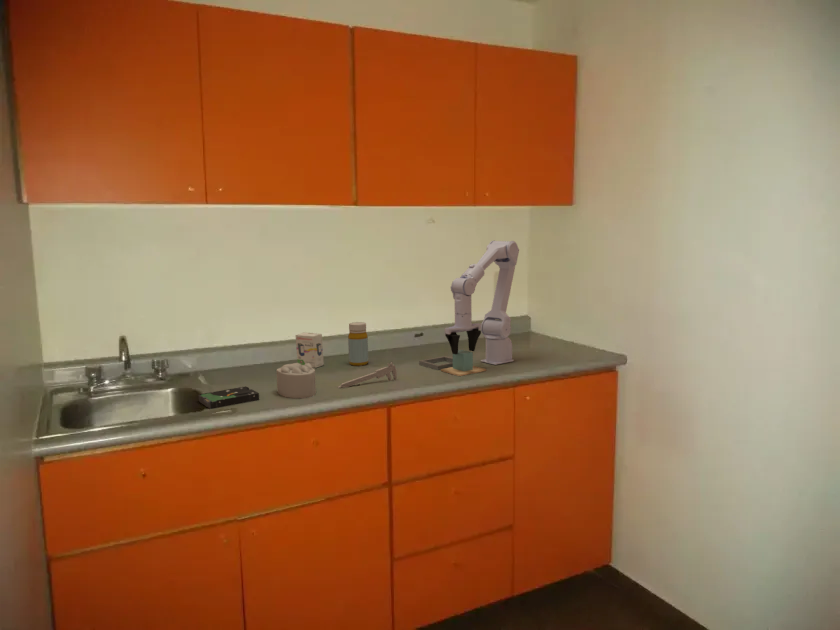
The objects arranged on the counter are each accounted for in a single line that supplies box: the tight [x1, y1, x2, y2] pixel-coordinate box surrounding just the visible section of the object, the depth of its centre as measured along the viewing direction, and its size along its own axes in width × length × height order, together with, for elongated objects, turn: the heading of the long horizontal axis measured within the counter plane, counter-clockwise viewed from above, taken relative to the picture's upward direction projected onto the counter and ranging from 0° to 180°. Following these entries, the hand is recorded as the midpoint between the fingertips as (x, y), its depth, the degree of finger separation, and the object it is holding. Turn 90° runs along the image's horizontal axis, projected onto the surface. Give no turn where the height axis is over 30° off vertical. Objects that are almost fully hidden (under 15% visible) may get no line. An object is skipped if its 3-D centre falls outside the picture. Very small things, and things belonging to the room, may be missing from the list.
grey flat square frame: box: [418, 355, 453, 371], centre depth 232 cm, size 12×11×2 cm
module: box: [452, 349, 474, 371], centre depth 222 cm, size 4×6×6 cm, turn 36°
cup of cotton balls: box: [276, 362, 317, 399], centre depth 197 cm, size 10×13×9 cm
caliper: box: [337, 361, 398, 389], centre depth 207 cm, size 20×1×6 cm, turn 119°
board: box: [440, 365, 487, 377], centre depth 222 cm, size 12×10×1 cm
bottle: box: [347, 321, 369, 367], centre depth 234 cm, size 7×7×15 cm
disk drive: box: [198, 386, 260, 410], centre depth 190 cm, size 10×3×15 cm
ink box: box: [295, 331, 324, 369], centre depth 233 cm, size 9×5×12 cm, turn 64°
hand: (463, 352), depth 221 cm, fingers open, 7 cm apart
